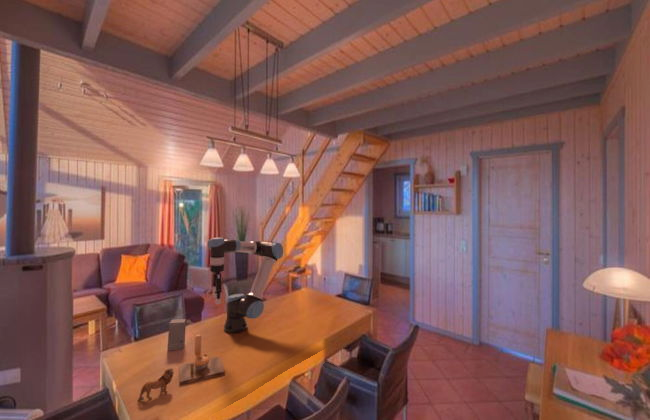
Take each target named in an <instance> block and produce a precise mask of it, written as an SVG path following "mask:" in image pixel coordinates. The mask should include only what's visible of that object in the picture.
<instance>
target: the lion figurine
mask: <svg viewBox="0 0 650 420" xmlns="http://www.w3.org/2000/svg"><path fill="white" fill-rule="evenodd" d="M173 377H174V368H170V367H169V368H167V369H165V370H164V373H162V374H161V376H160V377H159V378H158V379H155V380H150V381H147V382H145V383H144V384H143V385H142V387H141V389H140V394H139V397H138V399H137V401H136V402H137V403H139V402H140V401H141V400H143V399H144V394H146V395H145V396H146V398H147V399H148V400H149V401H150V400H152V399H153V397H152V396H150V394H151V392H152V390H158V389H160V392H163V393H164V394H167V393H168V390H167V386H168V385H169V384H170V383H171V382H172V379H173Z"/></svg>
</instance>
